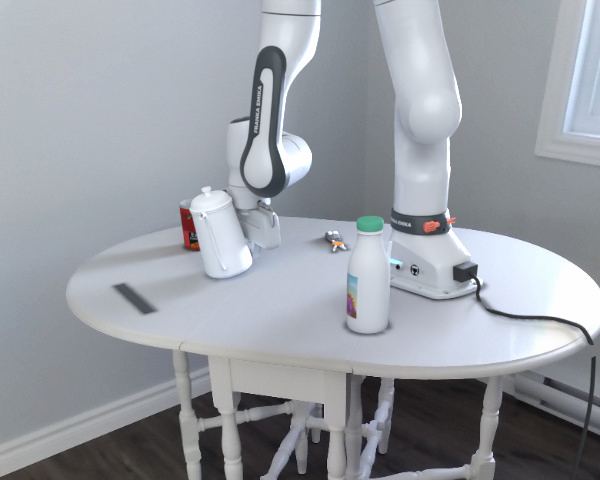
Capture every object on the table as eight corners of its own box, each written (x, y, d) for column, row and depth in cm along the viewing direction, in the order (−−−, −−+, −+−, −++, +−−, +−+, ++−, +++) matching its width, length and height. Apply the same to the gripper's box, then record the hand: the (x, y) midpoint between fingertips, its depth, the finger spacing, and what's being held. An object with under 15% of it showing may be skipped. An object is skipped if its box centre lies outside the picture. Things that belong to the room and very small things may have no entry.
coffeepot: (199, 299, 134) (170, 213, 124) (212, 253, 155) (188, 176, 144) (249, 289, 133) (224, 202, 122) (256, 244, 153) (235, 165, 143)
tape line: (153, 310, 128) (153, 310, 128) (144, 313, 127) (144, 312, 127) (123, 284, 141) (123, 283, 141) (114, 286, 140) (114, 285, 140)
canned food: (190, 252, 158) (185, 208, 152) (180, 244, 164) (174, 200, 158) (219, 247, 161) (215, 203, 155) (208, 239, 167) (203, 196, 161)
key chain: (323, 236, 166) (323, 230, 165) (337, 235, 166) (337, 229, 165) (333, 252, 155) (332, 246, 154) (348, 251, 155) (348, 245, 154)
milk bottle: (392, 319, 121) (397, 213, 110) (383, 337, 115) (387, 226, 104) (352, 315, 123) (354, 211, 113) (341, 332, 117) (342, 223, 106)
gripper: (286, 204, 133) (288, 268, 140) (241, 185, 148) (245, 243, 155) (260, 209, 130) (263, 273, 137) (216, 189, 145) (221, 248, 152)
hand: (253, 257), depth 146 cm, fingers closed
